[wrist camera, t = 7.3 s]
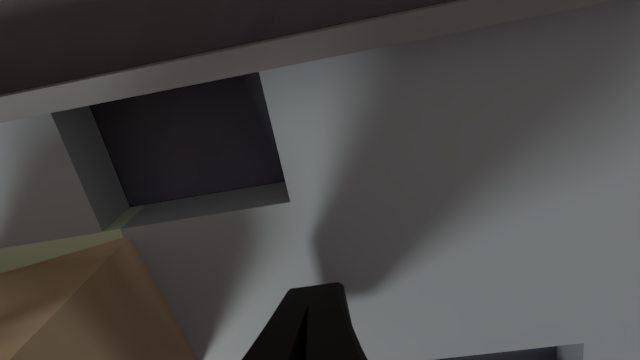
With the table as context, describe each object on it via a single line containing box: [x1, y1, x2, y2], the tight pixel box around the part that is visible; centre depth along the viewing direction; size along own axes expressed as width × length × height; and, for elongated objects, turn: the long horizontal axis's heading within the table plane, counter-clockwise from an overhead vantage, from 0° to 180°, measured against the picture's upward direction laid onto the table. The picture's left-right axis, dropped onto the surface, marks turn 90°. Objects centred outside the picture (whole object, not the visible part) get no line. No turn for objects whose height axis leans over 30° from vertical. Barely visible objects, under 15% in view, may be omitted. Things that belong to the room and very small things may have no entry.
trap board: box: [0, 0, 640, 360], centre depth 11 cm, size 22×13×4 cm, turn 101°
